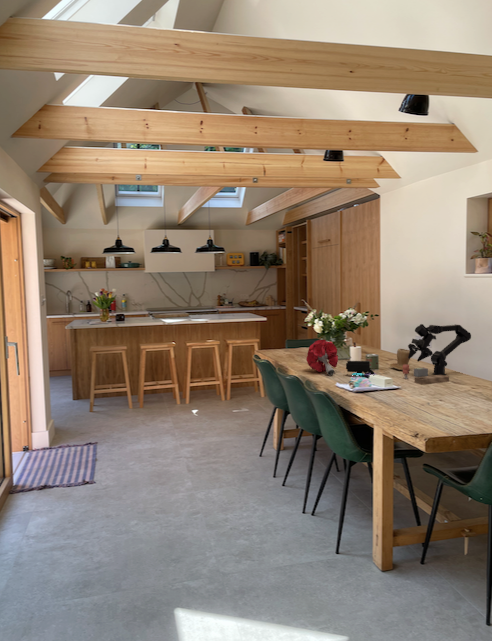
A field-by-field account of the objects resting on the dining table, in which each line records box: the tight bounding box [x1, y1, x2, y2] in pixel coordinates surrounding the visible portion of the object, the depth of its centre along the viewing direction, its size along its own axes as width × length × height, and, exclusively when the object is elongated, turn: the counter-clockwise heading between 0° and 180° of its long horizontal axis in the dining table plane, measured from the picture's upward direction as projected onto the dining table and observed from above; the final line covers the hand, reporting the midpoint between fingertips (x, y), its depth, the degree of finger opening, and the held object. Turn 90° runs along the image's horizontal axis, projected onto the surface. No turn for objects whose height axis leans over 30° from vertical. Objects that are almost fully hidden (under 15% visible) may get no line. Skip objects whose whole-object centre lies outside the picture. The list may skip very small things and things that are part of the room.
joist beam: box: [413, 374, 450, 385], centre depth 320 cm, size 21×7×3 cm, turn 111°
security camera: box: [345, 360, 375, 375], centre depth 343 cm, size 7×18×10 cm, turn 78°
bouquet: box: [306, 339, 339, 377], centre depth 357 cm, size 22×24×30 cm
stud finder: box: [413, 367, 429, 378], centre depth 339 cm, size 8×4×5 cm, turn 111°
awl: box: [402, 364, 410, 380], centre depth 331 cm, size 4×4×9 cm
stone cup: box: [389, 348, 411, 371], centre depth 363 cm, size 15×12×15 cm
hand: (413, 359), depth 336 cm, fingers open, 9 cm apart
